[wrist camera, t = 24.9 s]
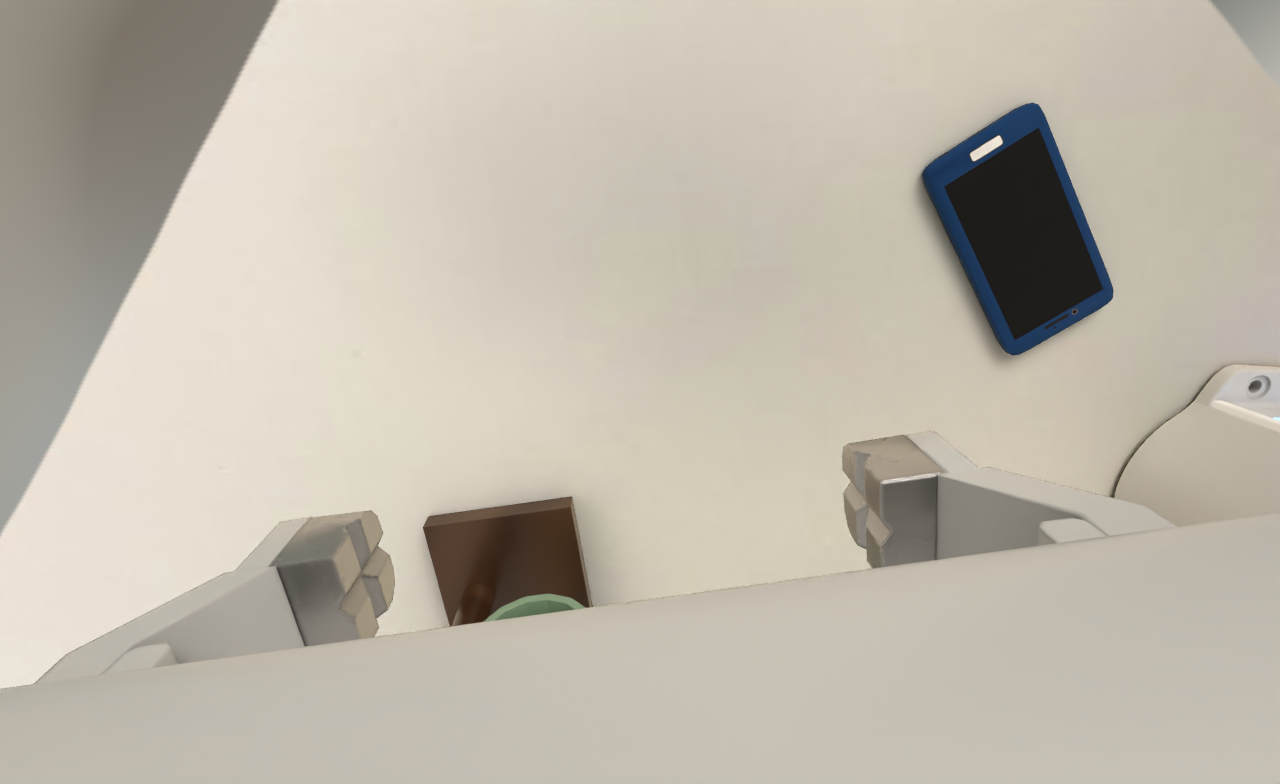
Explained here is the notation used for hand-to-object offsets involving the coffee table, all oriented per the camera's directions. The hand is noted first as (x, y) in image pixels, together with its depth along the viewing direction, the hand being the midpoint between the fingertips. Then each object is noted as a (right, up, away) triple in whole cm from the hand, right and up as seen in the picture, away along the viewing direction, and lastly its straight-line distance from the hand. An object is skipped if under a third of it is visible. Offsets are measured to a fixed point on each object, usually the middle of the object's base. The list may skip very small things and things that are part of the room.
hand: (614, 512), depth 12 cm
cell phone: (+24, +12, +30) cm, 40 cm away
